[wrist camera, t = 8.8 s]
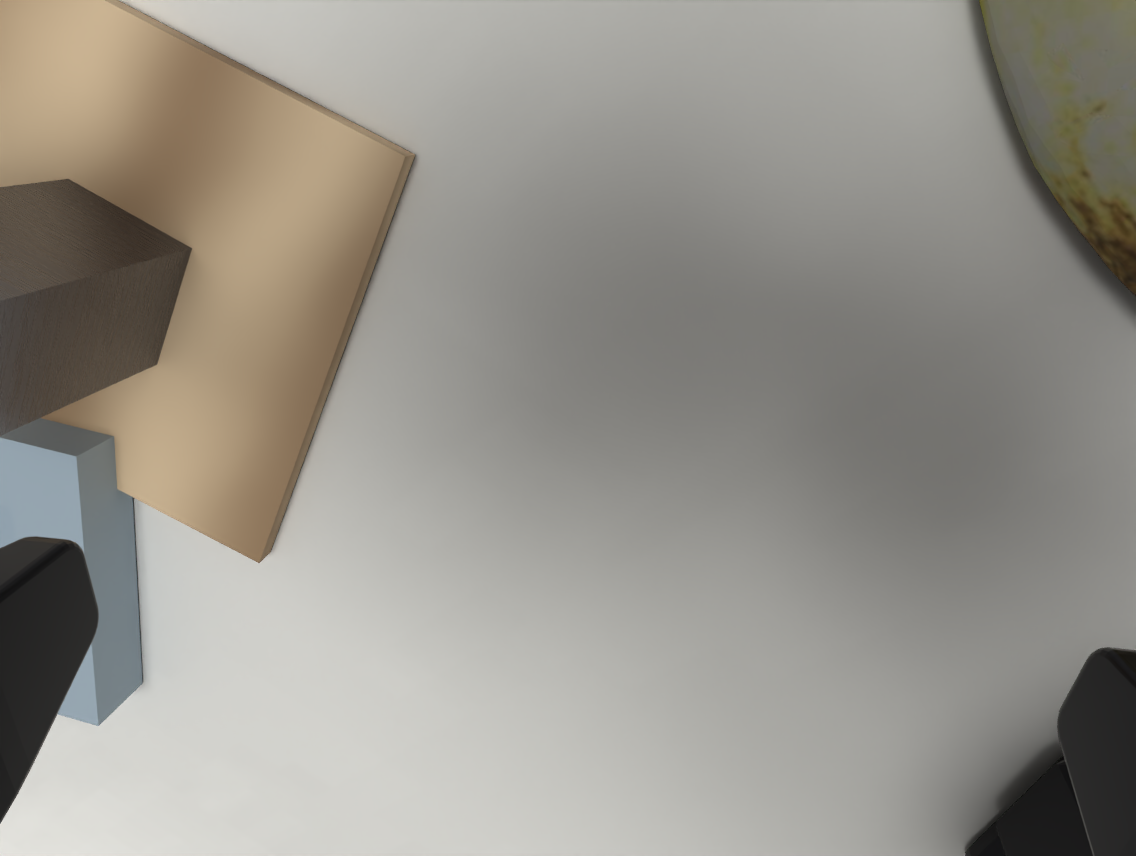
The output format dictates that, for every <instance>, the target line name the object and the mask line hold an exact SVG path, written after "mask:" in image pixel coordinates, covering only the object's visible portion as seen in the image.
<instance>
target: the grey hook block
mask: <svg viewBox="0 0 1136 856" xmlns="http://www.w3.org/2000/svg"><path fill="white" fill-rule="evenodd" d="M191 251H192V248H191V247H189V246H187V245H185V244H184V243H182V242H180V241H178V240H177V239H175V238H173V237H171V236H169V235H168V234H166V233H164V232H162V231H161V230H159V229H157V228H155V227H153V226H152V225H150V224H148V223H146V222H145V221H143V220H141V219H139V218H137V217H136V216H134V215H132V214H130V213H128V212H127V211H125V210H123V209H121V208H120V207H118V206H116V205H114V204H112V203H111V202H109V201H107V200H105V199H104V198H102V197H100V196H98V195H96V194H95V193H93V192H91V191H89V190H88V189H86V188H84V187H82V186H80V185H79V184H77V183H75V182H73V181H71V180H70V179H63V180H55V181H46V182H38V183H30V184H22V185H14V186H5V187H0V436H1V435H4V434H6V433H8V432H10V431H12V430H15V429H17V428H19V427H21V426H23V425H26V424H28V423H30V422H32V421H34V420H37V419H39V418H41V417H43V416H45V415H48V414H50V413H52V412H54V411H56V410H59V409H61V408H63V407H65V406H67V405H69V404H72V403H74V402H76V401H78V400H80V399H83V398H85V397H87V396H89V395H91V394H94V393H96V392H98V391H100V390H102V389H105V388H107V387H109V386H111V385H113V384H116V383H118V382H120V381H122V380H124V379H127V378H129V377H131V376H133V375H135V374H137V373H140V372H142V371H144V370H146V369H148V368H151V367H153V366H155V365H157V364H158V360H159V357H160V354H161V350H162V347H163V344H164V340H165V337H166V334H167V330H168V327H169V324H170V320H171V317H172V314H173V310H174V307H175V304H176V300H177V297H178V294H179V290H180V287H181V284H182V281H183V277H184V274H185V271H186V267H187V264H188V261H189V257H190V254H191Z"/></svg>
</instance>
